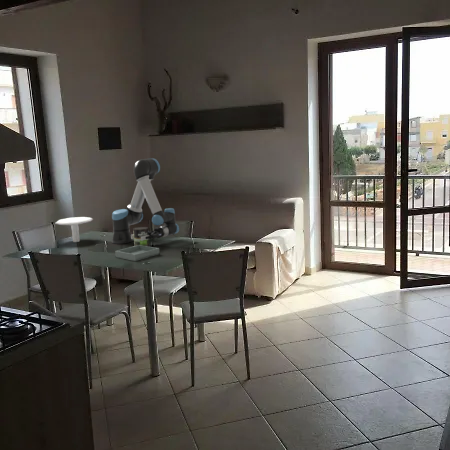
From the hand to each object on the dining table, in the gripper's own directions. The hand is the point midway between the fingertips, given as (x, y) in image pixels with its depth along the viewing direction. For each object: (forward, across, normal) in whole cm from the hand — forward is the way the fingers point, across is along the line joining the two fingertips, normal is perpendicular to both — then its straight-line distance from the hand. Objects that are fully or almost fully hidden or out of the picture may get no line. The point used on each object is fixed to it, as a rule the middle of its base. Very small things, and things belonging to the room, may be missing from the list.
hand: (136, 237), depth 331 cm
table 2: (+7, +64, -8) cm, 65 cm away
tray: (+12, -15, -8) cm, 21 cm away
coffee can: (-4, 0, -8) cm, 9 cm away
